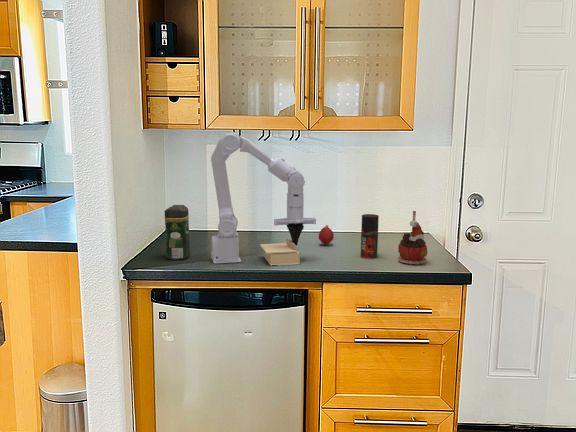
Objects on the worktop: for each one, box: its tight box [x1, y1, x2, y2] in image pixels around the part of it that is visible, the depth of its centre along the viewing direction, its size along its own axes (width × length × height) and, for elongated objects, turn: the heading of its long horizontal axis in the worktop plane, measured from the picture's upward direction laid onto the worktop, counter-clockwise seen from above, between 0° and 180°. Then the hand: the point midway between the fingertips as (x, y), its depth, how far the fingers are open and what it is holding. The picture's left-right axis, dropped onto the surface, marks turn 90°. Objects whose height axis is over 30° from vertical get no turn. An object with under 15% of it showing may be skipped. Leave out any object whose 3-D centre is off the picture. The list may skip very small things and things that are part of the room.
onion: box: [318, 224, 335, 246], centre depth 215 cm, size 6×6×8 cm
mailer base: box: [263, 248, 301, 267], centre depth 192 cm, size 10×12×4 cm
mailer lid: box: [259, 237, 297, 254], centre depth 191 cm, size 10×12×2 cm
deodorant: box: [360, 213, 380, 260], centre depth 197 cm, size 6×6×15 cm
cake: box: [397, 210, 428, 265], centre depth 190 cm, size 11×9×18 cm
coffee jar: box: [164, 204, 191, 261], centre depth 195 cm, size 10×8×19 cm
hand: (294, 244), depth 193 cm, fingers closed
